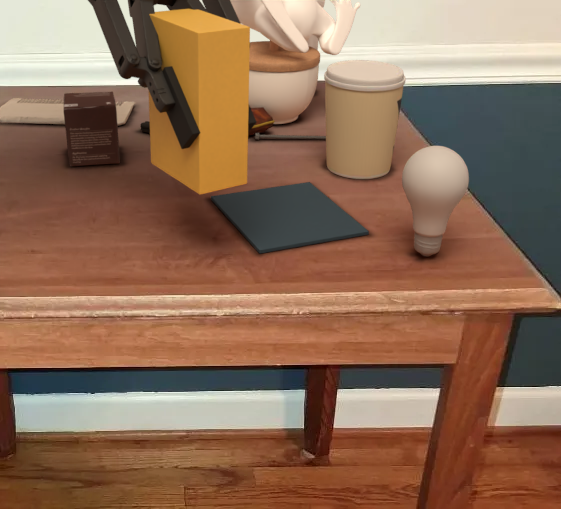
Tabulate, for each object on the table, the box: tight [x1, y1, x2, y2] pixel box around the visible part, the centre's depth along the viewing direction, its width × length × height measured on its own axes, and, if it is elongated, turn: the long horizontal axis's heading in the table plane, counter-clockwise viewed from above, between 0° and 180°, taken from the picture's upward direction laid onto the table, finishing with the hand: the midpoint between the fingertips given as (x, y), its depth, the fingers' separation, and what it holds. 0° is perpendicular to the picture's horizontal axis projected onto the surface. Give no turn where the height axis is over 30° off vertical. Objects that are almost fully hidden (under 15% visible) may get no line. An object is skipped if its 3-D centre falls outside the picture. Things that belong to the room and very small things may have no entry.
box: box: [63, 91, 121, 167], centre depth 101 cm, size 6×6×7 cm
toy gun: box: [140, 107, 275, 136], centre depth 111 cm, size 4×15×10 cm
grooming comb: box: [0, 97, 136, 126], centre depth 117 cm, size 18×10×1 cm, turn 88°
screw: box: [254, 133, 326, 141], centre depth 110 cm, size 10×1×1 cm, turn 95°
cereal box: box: [147, 9, 251, 195], centre depth 75 cm, size 5×9×14 cm, turn 36°
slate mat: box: [210, 181, 370, 254], centre depth 89 cm, size 12×14×1 cm
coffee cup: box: [323, 59, 407, 180], centre depth 100 cm, size 9×9×12 cm
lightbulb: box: [401, 145, 470, 257], centre depth 79 cm, size 6×6×11 cm
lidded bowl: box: [249, 40, 321, 125], centre depth 116 cm, size 13×13×11 cm
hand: (219, 135), depth 73 cm, fingers closed on cereal box, 5 cm apart
